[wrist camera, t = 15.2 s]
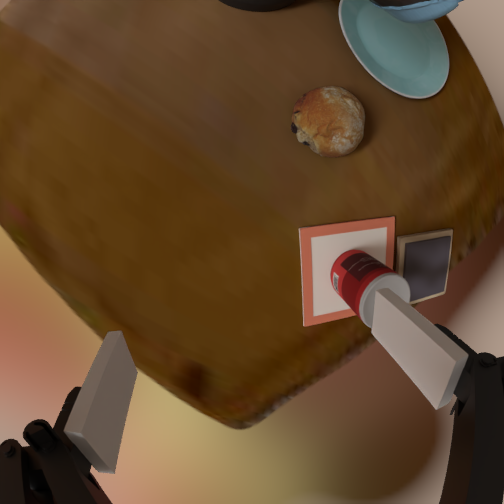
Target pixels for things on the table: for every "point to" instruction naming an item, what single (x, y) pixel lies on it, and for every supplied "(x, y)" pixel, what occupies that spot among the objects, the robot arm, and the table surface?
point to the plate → (396, 49)
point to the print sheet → (327, 251)
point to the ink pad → (424, 262)
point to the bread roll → (329, 121)
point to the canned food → (364, 282)
